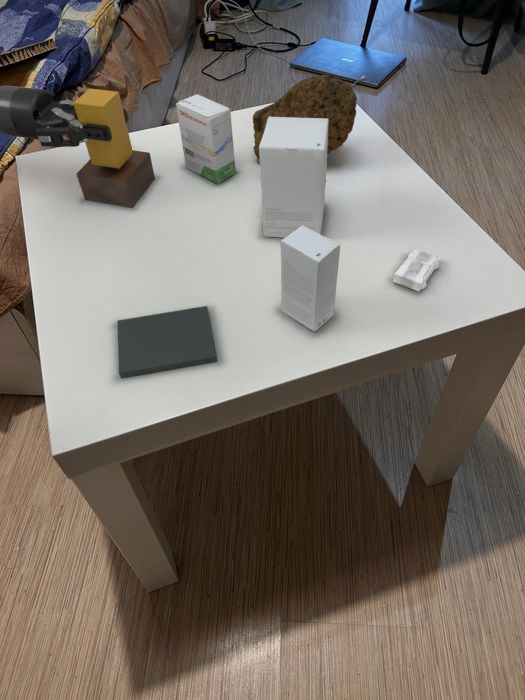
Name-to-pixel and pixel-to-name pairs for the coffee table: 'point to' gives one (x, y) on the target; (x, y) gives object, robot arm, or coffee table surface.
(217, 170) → the ink box
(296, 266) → the cosmetic box
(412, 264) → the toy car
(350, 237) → the coffee table surface
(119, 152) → the mustard block
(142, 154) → the walnut block
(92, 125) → the robot arm
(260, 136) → the rock
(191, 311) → the rubber mat
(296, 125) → the rectangular carton
